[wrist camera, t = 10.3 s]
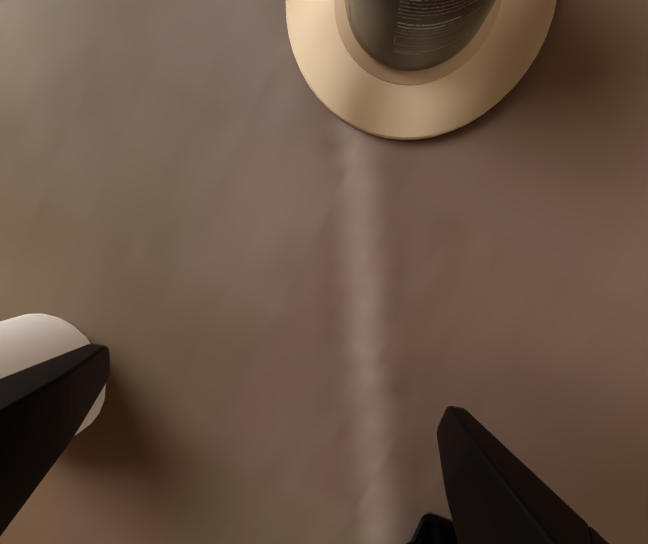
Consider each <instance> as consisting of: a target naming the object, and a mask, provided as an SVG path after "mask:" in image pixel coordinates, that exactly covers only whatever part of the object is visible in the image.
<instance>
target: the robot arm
mask: <svg viewBox="0 0 648 544" xmlns="http://www.w3.org/2000/svg"><path fill="white" fill-rule="evenodd" d="M109 375H110V359H109V349H108V347H107V346H104V345H98V344H87V345H85V346H82V347H80V348H77V349H74V350H72V351H69V352H67V353H64V354H62V355H59V356H57V357H54V358H52V359H49V360H46V361H44V362H41V363H39V364H36V365H34V366H31V367H29V368H26V369H24V370H21V371H18V372H16V373H13V374H11V375H8V376H6V377H3V378H1V379H0V536H1V535H2V533H3V532H4V531H5V529H6V528H7V527H8V525H9V524H10V522H11V521H12V520H13V518H14V517H15V516H16V514H17V513H18V512H19V510H20V509H21V508H22V506H23V505H24V504H25V502H26V501H27V500H28V498H29V497H30V496H31V494H32V493H33V491H34V490H35V489H36V487H37V486H38V485H39V483H40V482H41V481H42V479H43V478H44V477H45V475H46V474H47V473H48V471H49V470H50V469H51V467H52V466H53V464H54V463H55V462H56V460H57V459H58V458H59V456H60V455H61V454H62V452H63V451H64V450H65V448H66V447H67V446H68V444H69V443H70V441H71V440H72V438H73V437H74V436H75V434H76V432H77V431H78V429H79V428H80V426H81V424H82V423H83V421H84V419H85V418H86V416H87V414H88V413H89V411H90V409H91V408H92V406H93V404H94V403H95V401H96V399H97V398H98V396H99V394H100V393H101V391H102V389H103V388H104V386H105V384H106V382H107V381H108V378H109ZM437 440H438V446H439V453H440V459H441V466H442V473H443V479H444V486H445V491H446V496H447V501H448V505H449V509H450V513H451V517H452V521H453V523H452V522H450V521H447V520H445V519H442V518H440V517H437V516H435V515H432V514H426V515H424V516H423V517H422V518H421V520H420V523H419V525H418V527H417V529H416V531H415V534H414V536H413V538H412V540H411V542H408V543H407V544H609V543H608V542H607V541H606V540H604V539H603V538H602V537H601V536H600V535H599V534H598V533H597V532H596V531H595V530H594V529H593V528H592V527H588V524H587V523H586V522H585V521H584V520H583V519H582V518H581V517H580V516H579V515H578V514H577V513H576V512H574V511H573V510H572V509H571V508H570V507H569V506H568V505H567V504H566V503H565V502H564V501H563V500H562V499H561V498H560V497H558V496H557V495H556V494H555V493H554V492H553V491H552V490H551V489H550V488H549V487H548V486H547V485H546V484H545V483H543V482H542V481H541V480H540V479H539V478H538V477H537V476H536V475H535V474H534V473H533V472H532V471H531V470H530V469H529V468H527V467H526V466H525V465H524V464H523V463H522V462H521V461H520V460H519V459H518V458H517V457H516V456H515V455H514V454H512V453H511V452H510V451H509V450H508V449H507V448H506V447H505V446H504V445H503V444H502V443H501V442H500V441H499V440H498V439H496V438H495V437H494V436H493V435H492V434H491V433H490V432H489V431H488V430H487V429H486V428H485V427H484V426H483V425H481V424H480V423H479V422H478V421H477V420H476V419H475V418H474V417H473V416H472V415H471V414H470V413H469V412H468V411H467V410H465V409H464V408H461V407H455V406H449V407H447V409H446V410H445V413H444V415H443V417H442V419H441V421H440V424H439V426H438V429H437ZM428 523H432V524H431V525H429V524H428Z"/></svg>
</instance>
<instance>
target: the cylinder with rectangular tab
mask: <svg viewBox="0 0 648 544" xmlns="http://www.w3.org/2000/svg"><path fill="white" fill-rule="evenodd" d="M87 344H91V343H90V342H89V340H88V339H87V338H86V336H84V335H83V334H82V333H81V332H80V331H79V330H77V329H76V328H75V327H74V326H73V325H71V324H69V323H67V322H66V321H64V320H62V319H60V318H58V317H54V316H50V315H46V314H25V315H22V316H18V317H15V318H11V319H8V320H4V321H0V379H1V378H3V377H6V376H8V375H11V374H13V373H16V372H18V371H21V370H24V369H26V368H29V367H31V366H34V365H36V364H39V363H41V362H44V361H46V360H49V359H52V358H54V357H57V356H59V355H62V354H64V353H67V352H69V351H72V350H74V349H77V348H80V347H82V346H85V345H87ZM105 390H106V384H105V386H104V388H103V389H102V391H101V393H100V394H99V396H98V398H97V399H96V401H95V403H94V404H93V406H92V408H91V409H90V411H89V413H88V414H87V416H86V418H85V419H84V421H83V423H82V424H81V426H80V428H79V429H78V431H77V432H76V434H75V435H77V434H78V433H79V432H81V431H82V430H83V429H85V428H86V427H87V426H89V425H90V424H91V423H92V422H93V421H94V419H95V418H96V417H97V415H98V414H99V413H100V410H101V408H102V405H103V402H104V400H105Z"/></svg>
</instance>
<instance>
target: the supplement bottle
mask: <svg viewBox="0 0 648 544" xmlns="http://www.w3.org/2000/svg"><path fill="white" fill-rule="evenodd" d="M344 1H345V7H346V13H347V18H348V22H349V25H350V28H351V31H352V33H353V35H354V37H355V39H356V41H357V42H358V44H359V45H360V47H361V48H362V49H363V50H364V51H365V52H366V53H367V54H368V55H369V56H370V57H371V58H372V59H374V60H375V61H377V62H378V63H380V64H382V65H384V66H386V67H389V68H392V69H395V70H400V71H421V70H426V69H430V68H433V67H436V66H438V65H440V64H442V63H444V62H446V61H448V60H450V59H451V58H453V57H454V56H455V55H457V54H458V53H459V52H461V51H462V50H463V49H464V48H465V47H466V46H467V45H468V44H469V42H470V41H471V40H472V39H473V38H474V36H475V35H476V34H477V32H478V31H479V29H480V27H481V26H482V24H483V23H484V21H485V19H486V17H487V16H488V14H489V12H490V11H491V9H492V7H493V5H494V3H495V1H496V0H344Z"/></svg>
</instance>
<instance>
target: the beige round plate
mask: <svg viewBox="0 0 648 544" xmlns="http://www.w3.org/2000/svg"><path fill="white" fill-rule="evenodd" d="M556 2H557V0H496V1H495V3H494V5H493V7H492V9H491V11H490V12H489V14H488V16H487V17H486V19H485V21H484V23H483V24H482V26H481V27H480V29H479V31H478V32H477V34H476V35H475V36H474V38H473V39H472V40H471V41H470V42H469V44H468V45H467V46H466V47H465V48H464V49H463V50H462V51H461V52H459V53H458V54H457V55H455V56H454V57H453V58H451V59H450V60H448V61H446V62H444V63H442V64H440V65H438V66H436V67H433V68H430V69H426V70H421V71H400V70H395V69H392V68H389V67H386V66H384V65H382V64H380V63H378V62H377V61H375V60H374V59H372V58H371V57H370V56H369V55H368V54H367V53H366V52H365V51H364V50H363V49H362V48H361V47H360V45H359V44H358V42H357V41H356V39H355V37H354V35H353V33H352V31H351V28H350V25H349V22H348V18H347V13H346V7H345V1H344V0H286V19H287V27H288V34H289V38H290V42H291V46H292V50H293V53H294V56H295V58H296V61H297V63H298V66H299V68H300V70H301V72H302V74H303V76H304V78H305V80H306V82H307V83H308V85H309V87H310V89H311V90H312V91H313V93H314V94H315V95H316V97H317V98H318V99H319V101H320V102H321V103H322V104H323V105H324V106H325V107H326V108H327V109H328V110H329V111H330V112H331V113H333V114H334V115H335V116H336V117H338V118H339V119H340V120H342V121H343V122H345V123H346V124H348V125H350V126H352V127H353V128H355V129H357V130H360V131H362V132H365V133H367V134H370V135H373V136H377V137H382V138H386V139H395V140H419V139H425V138H431V137H435V136H439V135H442V134H445V133H449V132H451V131H454V130H456V129H458V128H460V127H463V126H465V125H467V124H468V123H470V122H472V121H473V120H475V119H477V118H478V117H480V116H482V115H483V114H484V113H486V112H487V111H488V110H489V109H491V108H492V107H493V106H495V105H496V104H497V103H498V102H499V101H500V100H501V99H502V98H503V97H504V96H505V95H506V94H507V93H508V92H509V91H510V90H511V89H512V88H513V87H514V86H515V85H516V84H517V83H518V82H519V80H520V79H521V78H522V77H523V75H524V74H525V73H526V72H527V70H528V69H529V67H530V66H531V64H532V62H533V61H534V59H535V58H536V56H537V55H538V53H539V51H540V49H541V46H542V44H543V42H544V40H545V38H546V36H547V33H548V31H549V28H550V25H551V22H552V19H553V16H554V11H555V6H556Z"/></svg>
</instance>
